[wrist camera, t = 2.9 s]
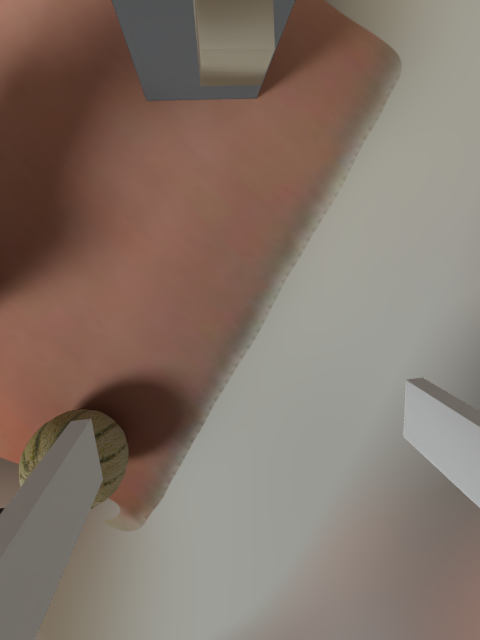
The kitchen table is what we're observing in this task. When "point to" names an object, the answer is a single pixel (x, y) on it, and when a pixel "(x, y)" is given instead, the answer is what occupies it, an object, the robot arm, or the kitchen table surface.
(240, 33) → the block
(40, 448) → the cantaloupe
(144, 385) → the kitchen table surface
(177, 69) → the lidded box
